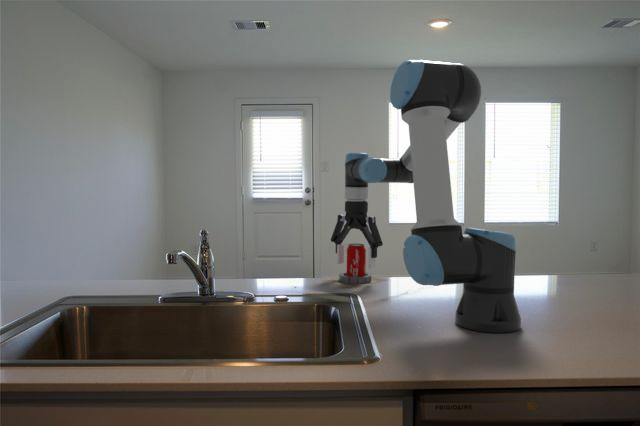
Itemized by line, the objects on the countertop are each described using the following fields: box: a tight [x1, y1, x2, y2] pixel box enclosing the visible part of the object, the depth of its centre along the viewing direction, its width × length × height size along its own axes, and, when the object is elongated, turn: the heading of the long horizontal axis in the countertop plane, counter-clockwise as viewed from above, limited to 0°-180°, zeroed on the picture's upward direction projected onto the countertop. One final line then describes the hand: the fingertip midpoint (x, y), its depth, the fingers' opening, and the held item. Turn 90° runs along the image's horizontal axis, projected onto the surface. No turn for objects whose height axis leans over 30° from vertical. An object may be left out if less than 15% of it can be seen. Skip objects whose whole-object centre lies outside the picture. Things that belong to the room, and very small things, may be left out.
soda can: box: [346, 242, 367, 277], centre depth 172 cm, size 6×6×12 cm
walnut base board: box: [321, 276, 389, 289], centre depth 173 cm, size 18×14×2 cm
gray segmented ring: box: [338, 271, 373, 284], centre depth 172 cm, size 10×10×2 cm
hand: (355, 265), depth 172 cm, fingers open, 12 cm apart
